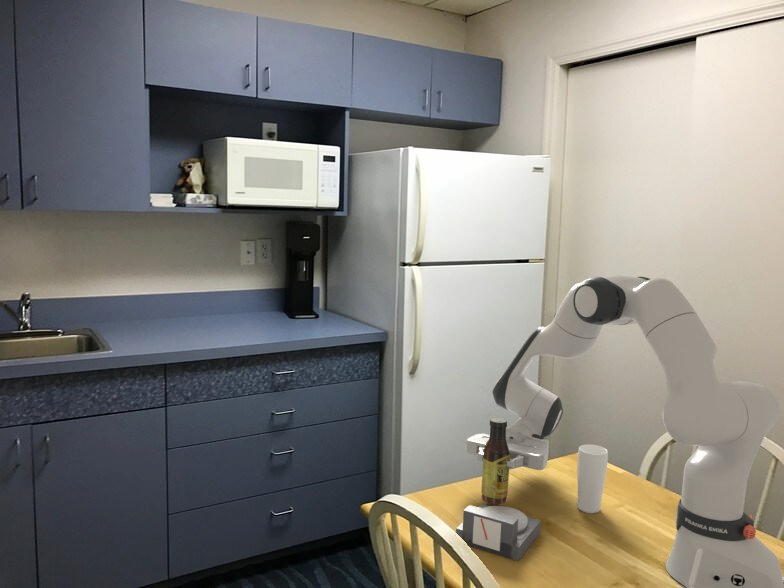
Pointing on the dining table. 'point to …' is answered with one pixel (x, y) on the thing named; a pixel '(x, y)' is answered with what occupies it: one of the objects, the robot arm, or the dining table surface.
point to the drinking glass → (591, 477)
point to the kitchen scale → (498, 530)
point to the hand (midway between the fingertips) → (494, 461)
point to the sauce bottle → (496, 464)
